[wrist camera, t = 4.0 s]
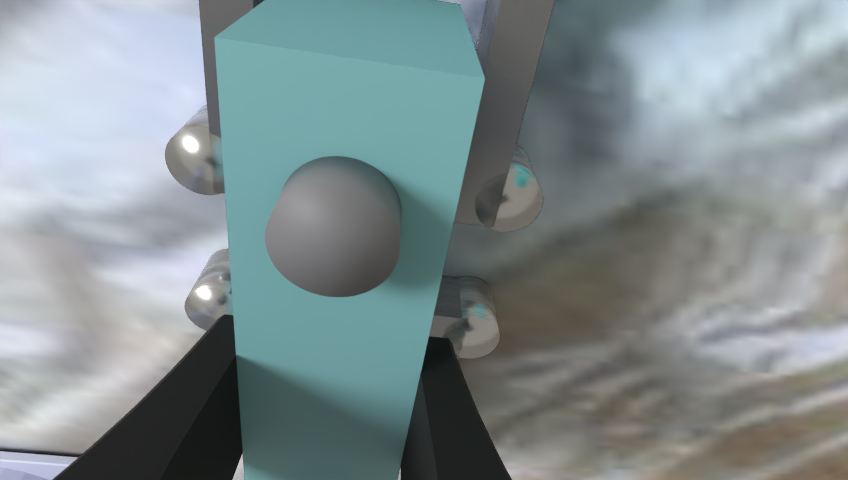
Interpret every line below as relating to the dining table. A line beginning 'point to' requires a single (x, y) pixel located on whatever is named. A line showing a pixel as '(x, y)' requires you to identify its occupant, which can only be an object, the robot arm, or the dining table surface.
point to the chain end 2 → (493, 133)
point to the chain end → (453, 318)
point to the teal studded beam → (339, 220)
